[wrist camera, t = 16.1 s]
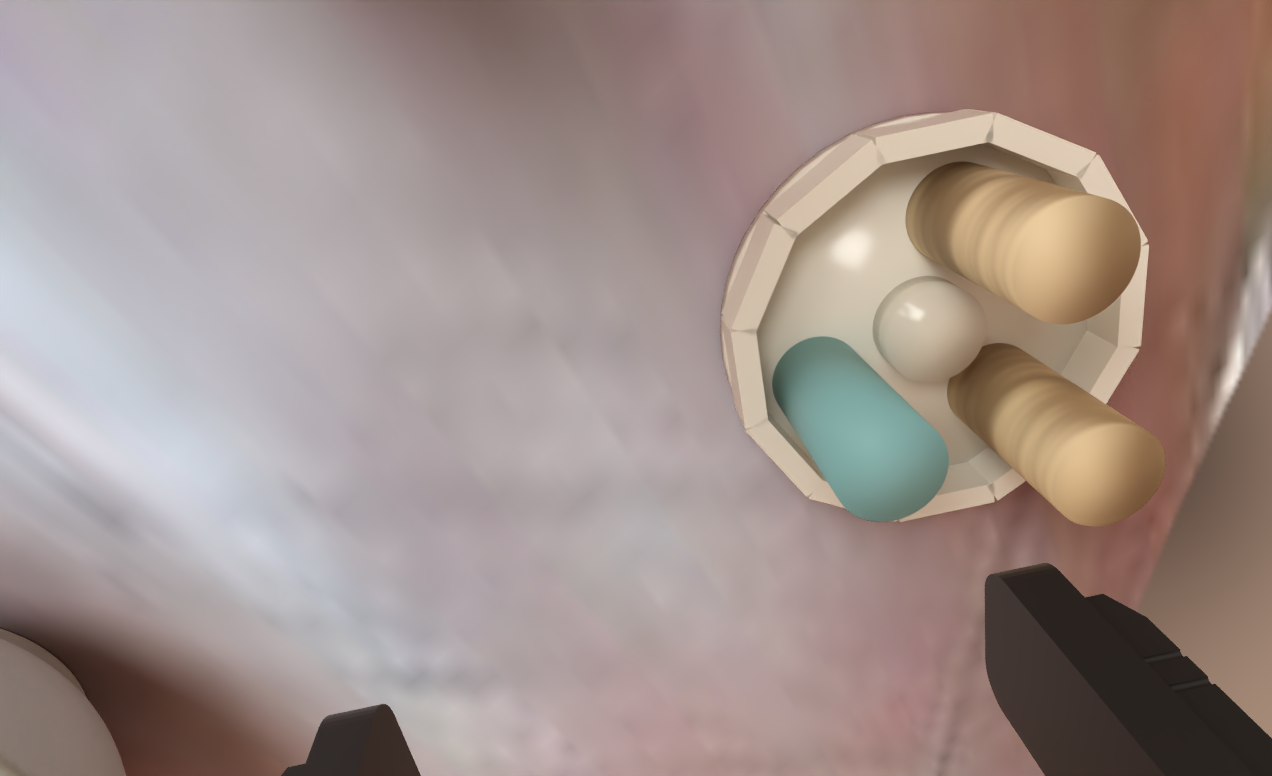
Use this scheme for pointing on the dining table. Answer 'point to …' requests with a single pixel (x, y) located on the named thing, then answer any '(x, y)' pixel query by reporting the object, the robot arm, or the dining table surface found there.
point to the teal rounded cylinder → (859, 430)
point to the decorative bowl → (48, 717)
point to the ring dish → (873, 253)
